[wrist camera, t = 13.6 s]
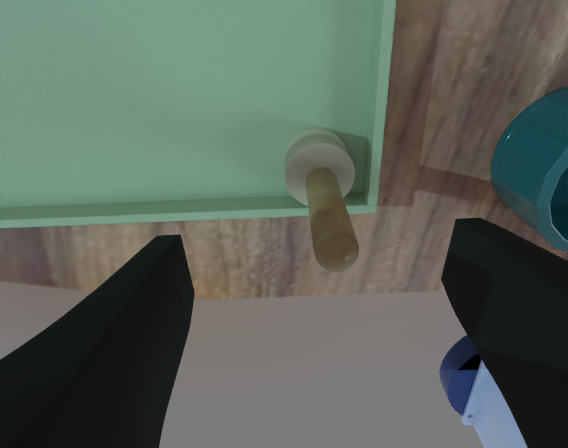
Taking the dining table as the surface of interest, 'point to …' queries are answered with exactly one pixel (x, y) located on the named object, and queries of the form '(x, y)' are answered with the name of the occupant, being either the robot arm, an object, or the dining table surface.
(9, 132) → the tray
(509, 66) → the dining table surface
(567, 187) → the cup
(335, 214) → the brush
